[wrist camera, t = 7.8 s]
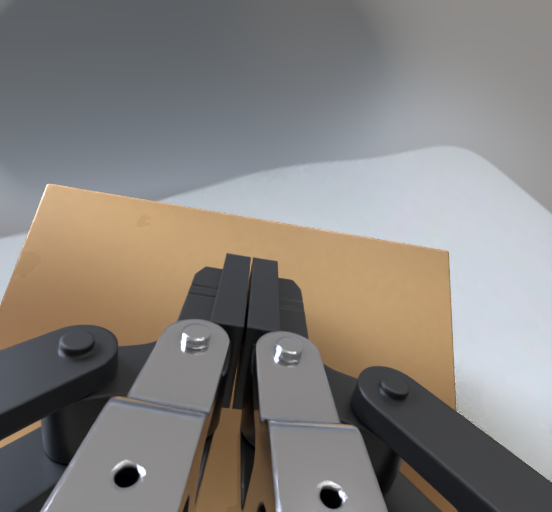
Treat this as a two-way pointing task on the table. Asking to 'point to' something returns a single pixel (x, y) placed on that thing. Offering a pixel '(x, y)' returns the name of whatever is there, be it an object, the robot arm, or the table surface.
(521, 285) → the table surface
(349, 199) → the table surface
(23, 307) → the lid
